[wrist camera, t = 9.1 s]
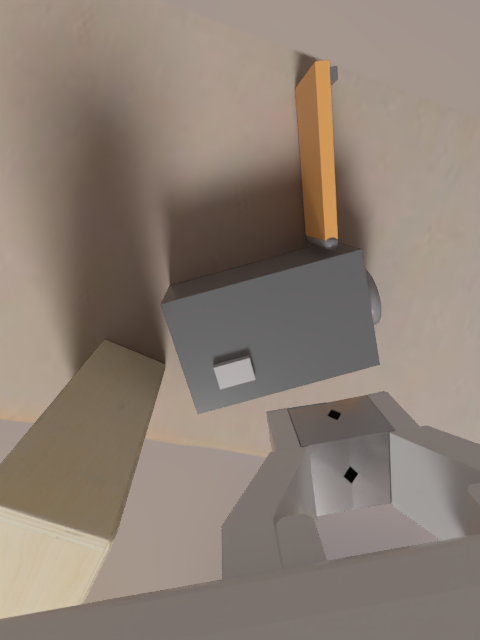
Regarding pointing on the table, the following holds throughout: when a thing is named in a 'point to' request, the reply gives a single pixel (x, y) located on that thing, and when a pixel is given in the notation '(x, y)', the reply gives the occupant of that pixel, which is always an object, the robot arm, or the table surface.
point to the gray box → (274, 325)
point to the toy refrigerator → (73, 481)
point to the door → (317, 154)
